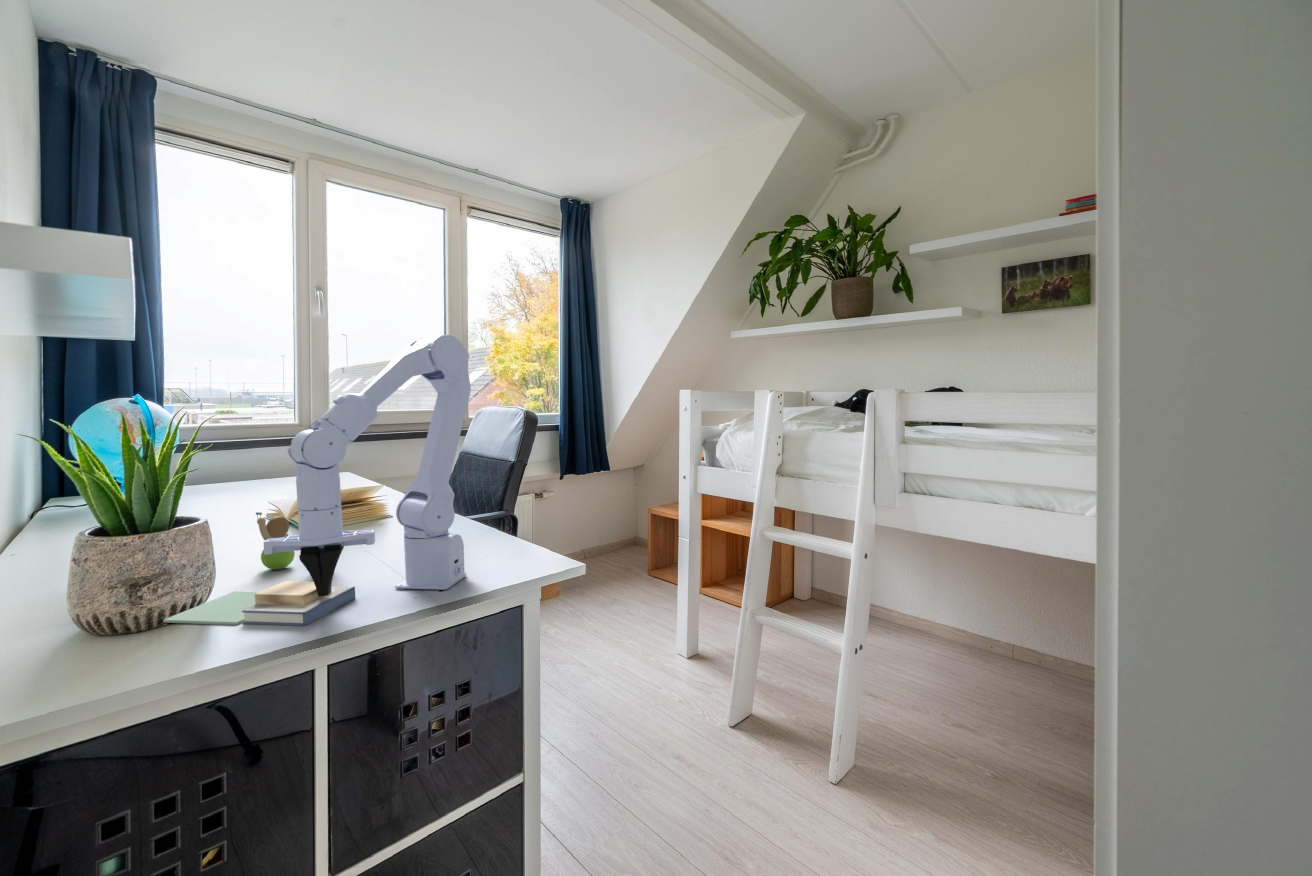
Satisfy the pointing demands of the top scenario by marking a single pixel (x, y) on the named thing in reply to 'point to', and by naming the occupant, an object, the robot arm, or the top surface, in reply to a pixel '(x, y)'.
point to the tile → (288, 593)
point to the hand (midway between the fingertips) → (324, 594)
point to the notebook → (299, 609)
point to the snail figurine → (272, 530)
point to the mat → (218, 610)
